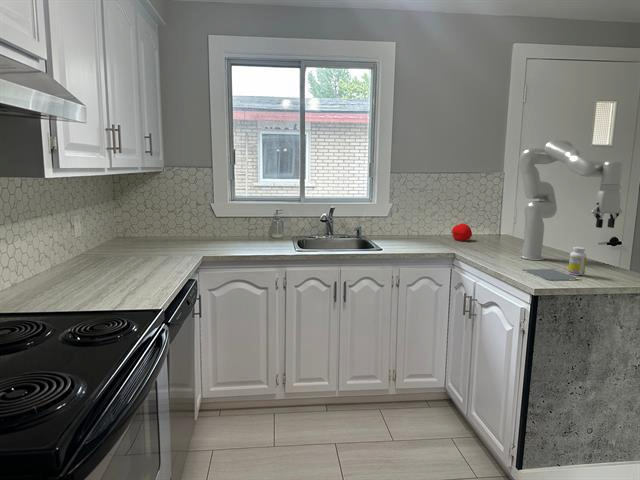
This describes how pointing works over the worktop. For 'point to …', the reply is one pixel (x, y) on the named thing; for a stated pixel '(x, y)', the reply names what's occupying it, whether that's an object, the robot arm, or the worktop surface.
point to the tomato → (461, 232)
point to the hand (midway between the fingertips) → (604, 227)
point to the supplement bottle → (577, 261)
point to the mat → (550, 274)
